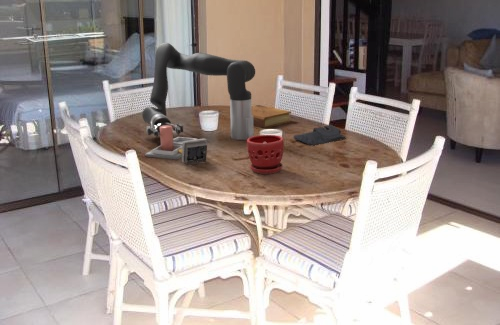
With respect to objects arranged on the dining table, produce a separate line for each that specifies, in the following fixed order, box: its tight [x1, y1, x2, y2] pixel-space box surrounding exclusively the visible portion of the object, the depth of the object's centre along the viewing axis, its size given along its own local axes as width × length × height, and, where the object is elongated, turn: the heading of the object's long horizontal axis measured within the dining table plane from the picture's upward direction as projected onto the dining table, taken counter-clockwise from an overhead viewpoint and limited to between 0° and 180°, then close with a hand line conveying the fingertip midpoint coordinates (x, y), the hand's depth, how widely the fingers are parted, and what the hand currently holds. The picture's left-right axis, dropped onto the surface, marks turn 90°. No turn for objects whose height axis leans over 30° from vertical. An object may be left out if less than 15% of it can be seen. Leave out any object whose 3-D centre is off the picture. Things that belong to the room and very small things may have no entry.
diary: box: [251, 104, 292, 129], centre depth 281 cm, size 23×19×6 cm
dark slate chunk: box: [293, 124, 346, 147], centre depth 247 cm, size 15×22×5 cm
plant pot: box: [246, 134, 285, 175], centre depth 205 cm, size 13×13×12 cm
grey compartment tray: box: [145, 136, 198, 160], centre depth 234 cm, size 14×24×2 cm, turn 158°
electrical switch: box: [181, 138, 208, 166], centre depth 215 cm, size 9×5×9 cm, turn 113°
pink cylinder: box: [159, 125, 174, 151], centre depth 227 cm, size 5×5×10 cm
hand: (167, 133), depth 225 cm, fingers open, 8 cm apart
